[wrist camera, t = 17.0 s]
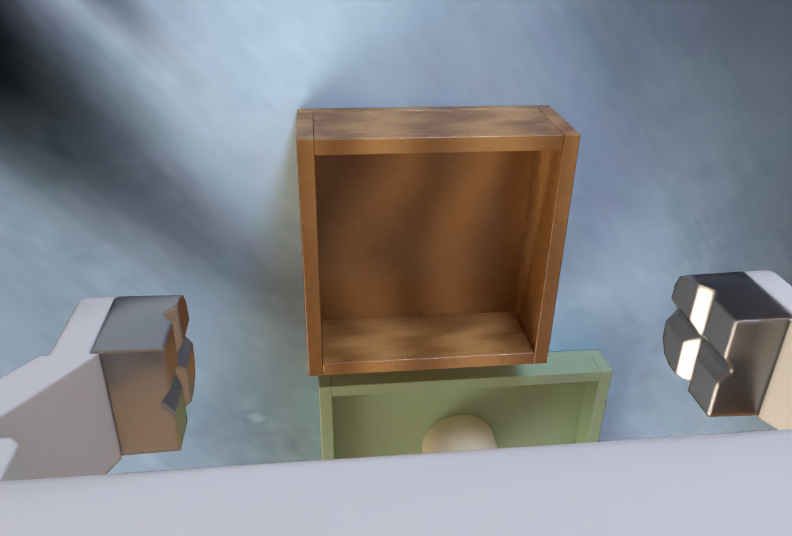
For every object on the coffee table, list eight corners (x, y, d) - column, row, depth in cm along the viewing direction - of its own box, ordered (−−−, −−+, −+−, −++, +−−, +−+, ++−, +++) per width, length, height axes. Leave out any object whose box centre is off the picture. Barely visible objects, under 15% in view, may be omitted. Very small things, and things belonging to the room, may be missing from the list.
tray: (599, 348, 47) (612, 370, 45) (571, 496, 53) (582, 521, 51) (318, 363, 45) (318, 387, 43) (324, 514, 51) (325, 541, 49)
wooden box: (549, 105, 38) (581, 134, 34) (523, 315, 45) (547, 363, 41) (297, 108, 37) (296, 139, 33) (308, 326, 44) (308, 376, 39)
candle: (496, 411, 48) (528, 502, 41) (490, 466, 50) (520, 561, 43) (423, 416, 47) (443, 509, 40) (420, 471, 50) (439, 568, 43)
